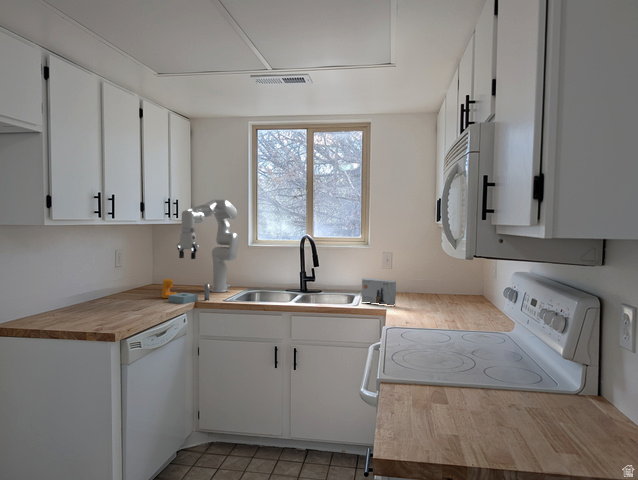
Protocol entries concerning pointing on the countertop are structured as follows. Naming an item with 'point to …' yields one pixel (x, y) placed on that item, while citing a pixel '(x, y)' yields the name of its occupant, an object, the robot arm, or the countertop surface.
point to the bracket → (167, 288)
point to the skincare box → (378, 291)
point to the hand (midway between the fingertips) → (187, 258)
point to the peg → (206, 292)
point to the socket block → (183, 298)
